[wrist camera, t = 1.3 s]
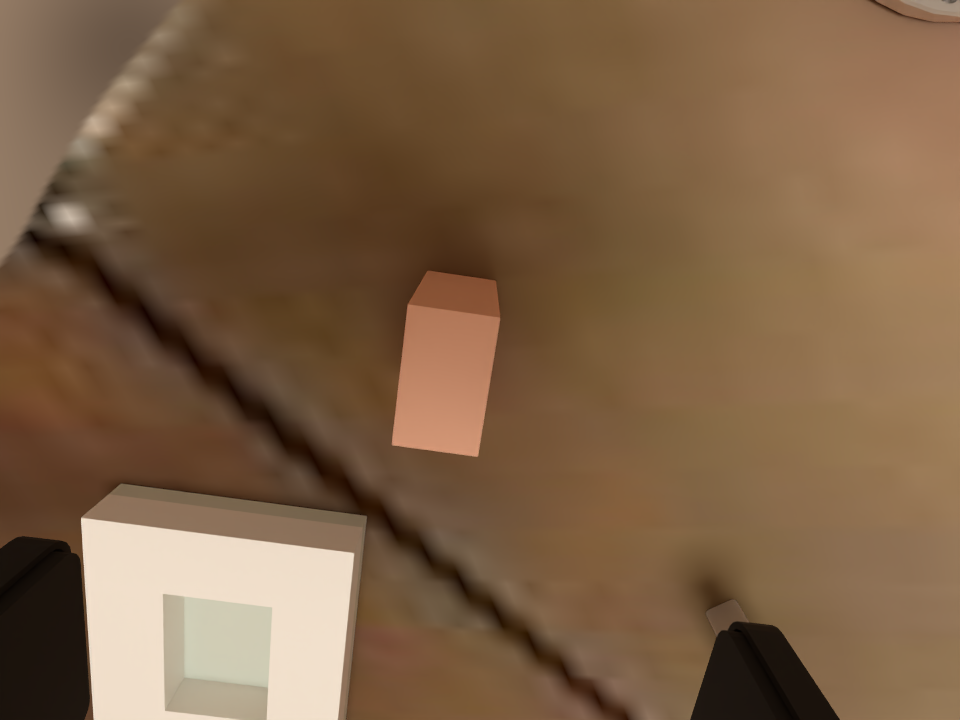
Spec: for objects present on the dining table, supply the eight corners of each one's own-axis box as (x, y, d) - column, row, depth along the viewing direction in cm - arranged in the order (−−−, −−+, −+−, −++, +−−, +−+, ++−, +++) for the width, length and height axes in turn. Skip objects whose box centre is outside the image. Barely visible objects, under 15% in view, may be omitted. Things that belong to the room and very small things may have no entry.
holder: (121, 483, 29) (80, 517, 26) (367, 515, 29) (354, 553, 26) (129, 704, 33) (96, 755, 30) (344, 729, 33) (331, 782, 30)
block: (427, 270, 25) (407, 304, 19) (496, 280, 26) (500, 318, 19) (414, 378, 27) (391, 445, 20) (479, 387, 27) (477, 456, 20)
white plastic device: (765, 653, 32) (855, 806, 24) (735, 666, 32) (814, 821, 24) (711, 555, 30) (790, 687, 22) (680, 570, 30) (747, 705, 22)
